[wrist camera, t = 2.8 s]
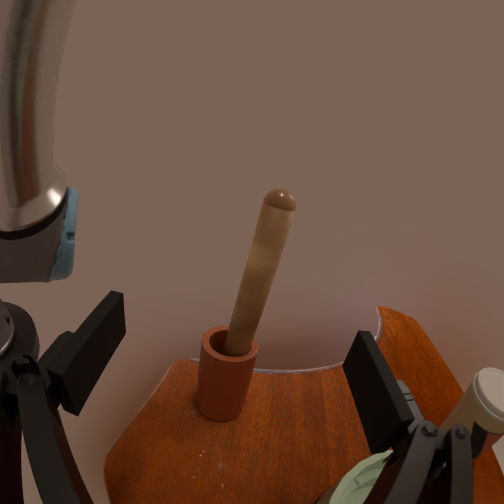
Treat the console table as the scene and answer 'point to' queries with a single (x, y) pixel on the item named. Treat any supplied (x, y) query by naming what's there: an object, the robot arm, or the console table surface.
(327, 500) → the bowl
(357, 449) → the console table surface
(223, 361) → the crock
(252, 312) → the stick
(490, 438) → the coffee cup
